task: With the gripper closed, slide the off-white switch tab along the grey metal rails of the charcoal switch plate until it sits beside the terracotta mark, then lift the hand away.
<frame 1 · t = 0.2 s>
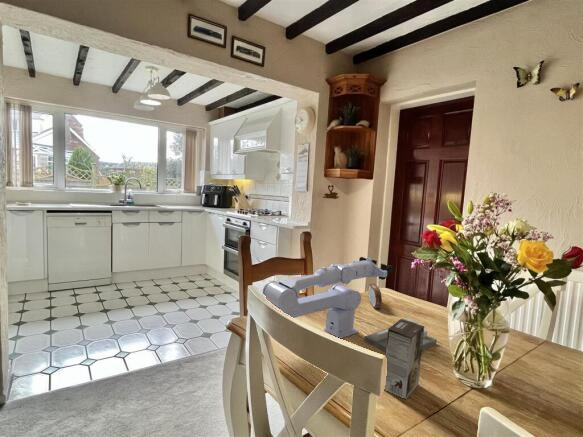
hand: (383, 265, 125), 22 cm above the table, tool horizontal, fingers open, 7 cm apart
switch tab: (408, 328, 112), point 4 cm above the table, slide at 0.0 cm
coffee box: (400, 387, 85), on the table
switch plate: (400, 342, 110), on the table
clock: (373, 305, 145), on the table
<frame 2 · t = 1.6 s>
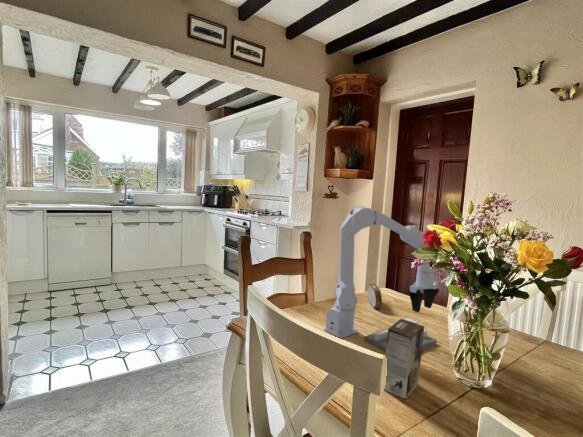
hand: (421, 309, 116), 9 cm above the table, tool pointing down, fingers open, 7 cm apart
nothing on the table moved.
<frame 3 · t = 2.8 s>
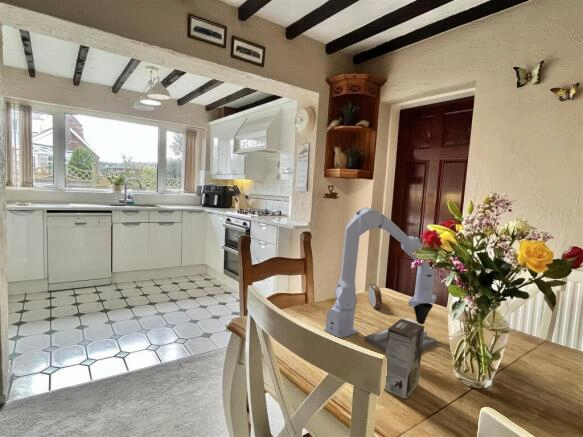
hand: (420, 323, 116), 4 cm above the table, tool pointing down, fingers closed
nothing on the table moved.
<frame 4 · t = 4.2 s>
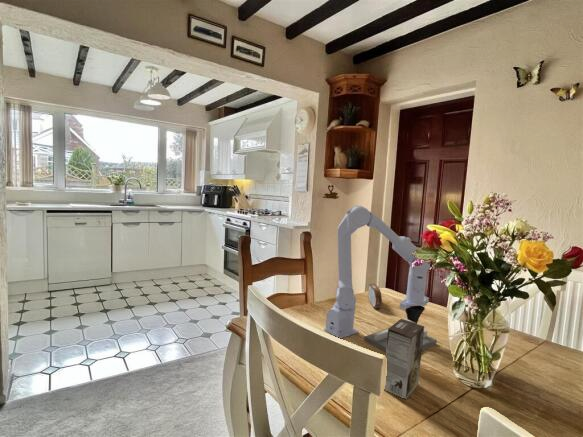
hand: (412, 326, 113), 4 cm above the table, tool pointing down, fingers closed
switch tab: (406, 328, 111), point 4 cm above the table, slide at 1.3 cm, touching gripper
everything else where it was.
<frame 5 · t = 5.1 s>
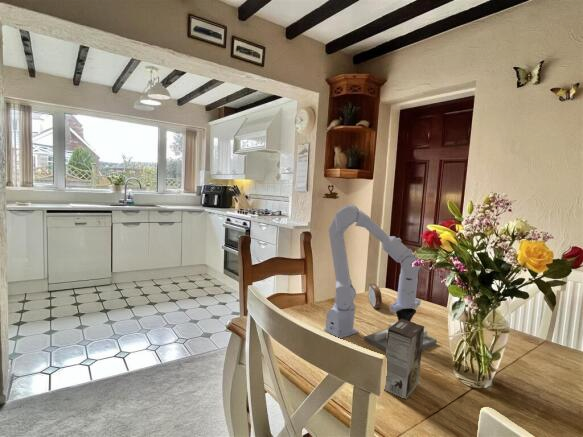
hand: (403, 329, 110), 4 cm above the table, tool pointing down, fingers closed
switch tab: (397, 332, 108), point 4 cm above the table, slide at 6.5 cm, touching gripper
everything else where it was.
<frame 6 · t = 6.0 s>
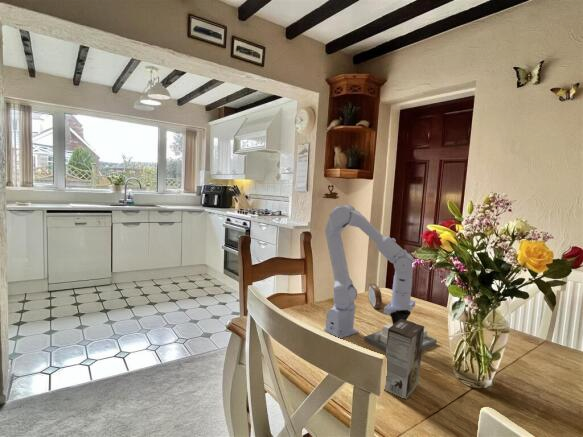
hand: (397, 331, 108), 4 cm above the table, tool pointing down, fingers closed
switch tab: (391, 334, 106), point 4 cm above the table, slide at 9.7 cm, touching gripper
everything else where it was.
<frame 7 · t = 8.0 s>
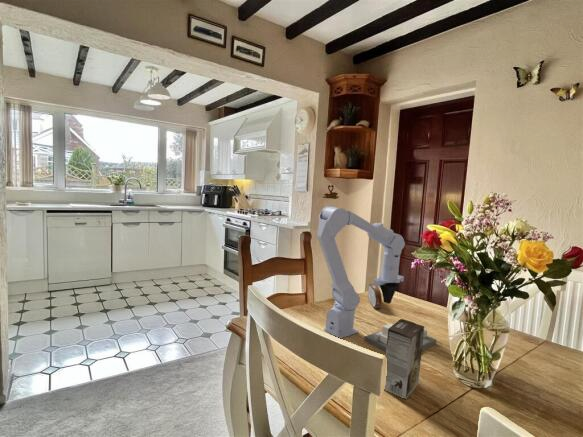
hand: (387, 302, 120), 9 cm above the table, tool pointing down, fingers closed
switch tab: (391, 334, 106), point 4 cm above the table, slide at 9.8 cm
everything else where it was.
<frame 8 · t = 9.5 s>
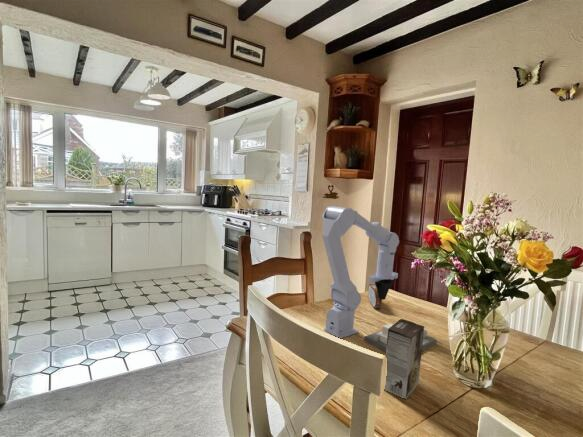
hand: (381, 298, 124), 9 cm above the table, tool pointing down, fingers closed
nothing on the table moved.
at the end: switch tab slide at 9.8 cm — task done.
